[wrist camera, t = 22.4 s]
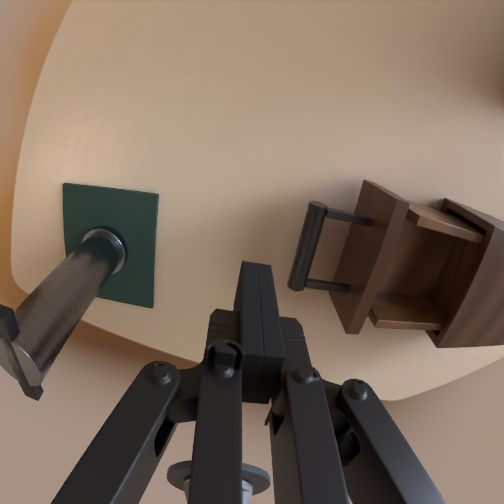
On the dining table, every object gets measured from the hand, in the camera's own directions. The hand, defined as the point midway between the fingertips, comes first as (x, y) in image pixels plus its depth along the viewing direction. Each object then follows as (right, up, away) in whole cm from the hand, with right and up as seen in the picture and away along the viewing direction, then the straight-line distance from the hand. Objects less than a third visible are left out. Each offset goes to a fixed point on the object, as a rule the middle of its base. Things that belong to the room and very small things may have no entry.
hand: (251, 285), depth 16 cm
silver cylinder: (-14, +2, +11) cm, 18 cm away
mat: (-14, +2, +11) cm, 18 cm away
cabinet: (+25, +1, +13) cm, 28 cm away
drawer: (+12, +2, +11) cm, 16 cm away
